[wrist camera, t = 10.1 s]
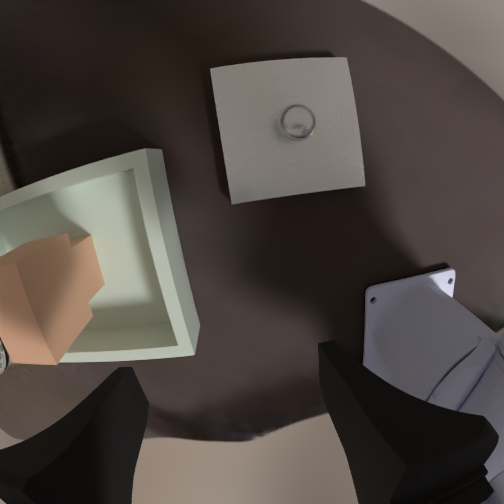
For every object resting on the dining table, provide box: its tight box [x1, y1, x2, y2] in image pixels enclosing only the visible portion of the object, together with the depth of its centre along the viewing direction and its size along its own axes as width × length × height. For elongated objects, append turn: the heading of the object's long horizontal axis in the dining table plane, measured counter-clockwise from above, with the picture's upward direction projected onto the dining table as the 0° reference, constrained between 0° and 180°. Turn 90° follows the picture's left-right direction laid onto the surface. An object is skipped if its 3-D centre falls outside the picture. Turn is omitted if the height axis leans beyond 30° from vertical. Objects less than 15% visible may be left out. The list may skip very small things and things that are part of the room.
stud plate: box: [210, 57, 365, 204], centre depth 15 cm, size 8×8×4 cm
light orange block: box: [0, 233, 105, 365], centre depth 15 cm, size 3×5×8 cm, turn 8°
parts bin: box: [0, 148, 200, 362], centre depth 17 cm, size 12×15×4 cm
